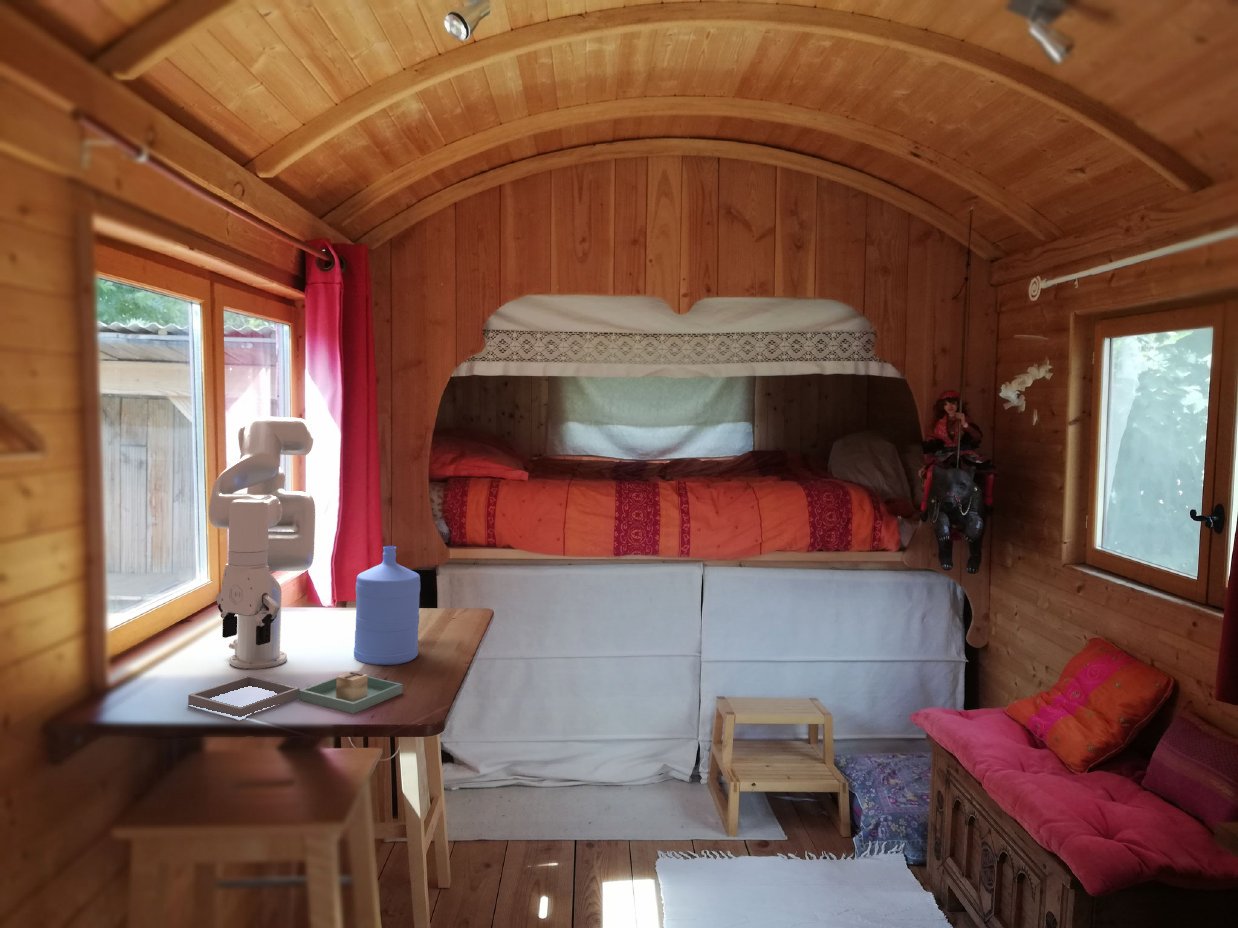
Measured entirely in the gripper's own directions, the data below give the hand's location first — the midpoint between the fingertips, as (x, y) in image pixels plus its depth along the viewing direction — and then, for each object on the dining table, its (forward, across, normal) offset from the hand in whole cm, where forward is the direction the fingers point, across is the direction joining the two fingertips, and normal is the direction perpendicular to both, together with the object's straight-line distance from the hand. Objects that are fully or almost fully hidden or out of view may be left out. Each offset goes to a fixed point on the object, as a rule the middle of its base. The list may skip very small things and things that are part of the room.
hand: (246, 639), depth 173 cm
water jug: (+14, +2, +41) cm, 43 cm away
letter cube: (+13, +16, +14) cm, 25 cm away
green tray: (+13, +16, +14) cm, 25 cm away
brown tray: (+13, 0, 0) cm, 13 cm away
